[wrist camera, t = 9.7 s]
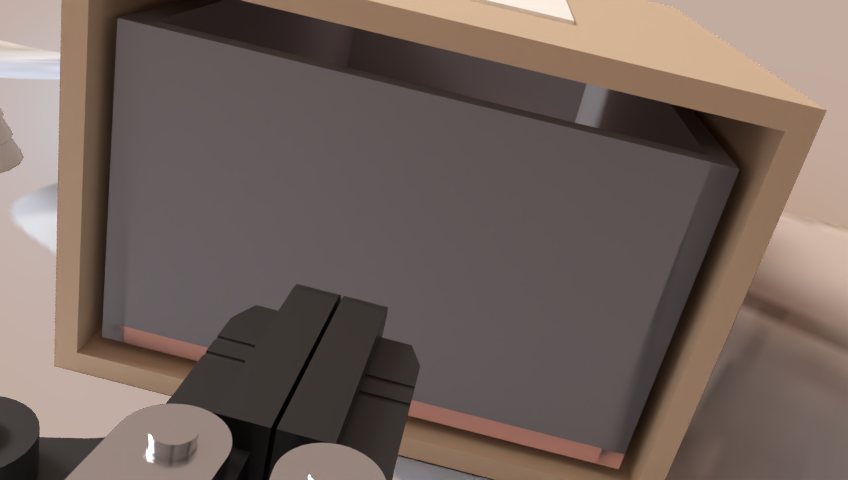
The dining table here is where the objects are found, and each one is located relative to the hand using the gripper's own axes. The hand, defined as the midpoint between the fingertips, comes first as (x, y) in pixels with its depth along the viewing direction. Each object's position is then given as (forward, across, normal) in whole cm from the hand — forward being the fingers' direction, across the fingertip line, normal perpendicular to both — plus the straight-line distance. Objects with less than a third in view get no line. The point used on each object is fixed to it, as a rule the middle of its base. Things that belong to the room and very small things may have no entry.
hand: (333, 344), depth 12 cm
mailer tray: (+19, 0, +6) cm, 20 cm away
